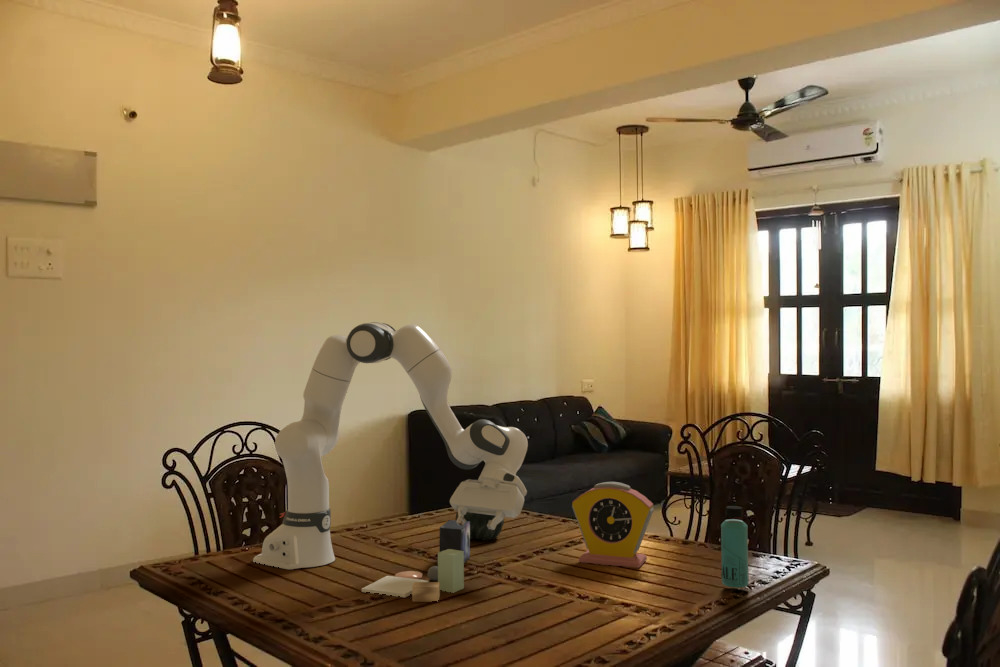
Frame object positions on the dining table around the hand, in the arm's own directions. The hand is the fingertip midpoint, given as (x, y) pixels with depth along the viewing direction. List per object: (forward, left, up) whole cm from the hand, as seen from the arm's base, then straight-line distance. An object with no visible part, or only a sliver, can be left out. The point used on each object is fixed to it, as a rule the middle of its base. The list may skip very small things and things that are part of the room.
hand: (474, 526), depth 208 cm
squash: (-17, +41, -14) cm, 46 cm away
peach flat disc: (-17, -4, -14) cm, 22 cm away
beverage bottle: (+62, +14, -13) cm, 65 cm away
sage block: (-2, -10, -13) cm, 17 cm away
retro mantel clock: (+28, +29, -14) cm, 42 cm away
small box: (-12, +13, -14) cm, 22 cm away
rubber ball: (-9, -5, -11) cm, 15 cm away
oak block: (-4, -19, -13) cm, 24 cm away
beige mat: (-15, -14, -13) cm, 24 cm away
